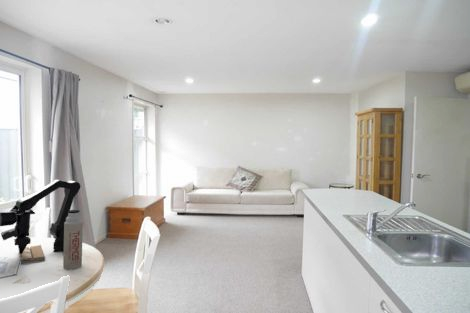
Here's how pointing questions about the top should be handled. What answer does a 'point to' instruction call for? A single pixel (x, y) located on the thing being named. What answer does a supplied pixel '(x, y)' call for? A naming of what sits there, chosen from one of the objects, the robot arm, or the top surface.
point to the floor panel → (34, 255)
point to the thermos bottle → (73, 241)
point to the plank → (26, 254)
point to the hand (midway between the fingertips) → (20, 253)
